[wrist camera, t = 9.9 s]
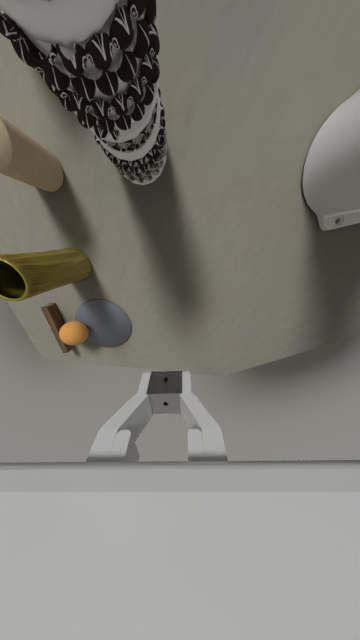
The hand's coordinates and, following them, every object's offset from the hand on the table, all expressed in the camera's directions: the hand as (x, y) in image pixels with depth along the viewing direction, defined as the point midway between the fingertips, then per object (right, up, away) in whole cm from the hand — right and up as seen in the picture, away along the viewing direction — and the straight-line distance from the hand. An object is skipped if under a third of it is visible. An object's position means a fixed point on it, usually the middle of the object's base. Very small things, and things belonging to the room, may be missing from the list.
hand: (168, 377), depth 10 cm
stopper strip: (-28, +2, +26) cm, 38 cm away
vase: (-20, +15, +20) cm, 32 cm away
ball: (-23, +1, +24) cm, 34 cm away
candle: (-20, +27, +14) cm, 37 cm away
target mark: (-18, +2, +27) cm, 32 cm away
